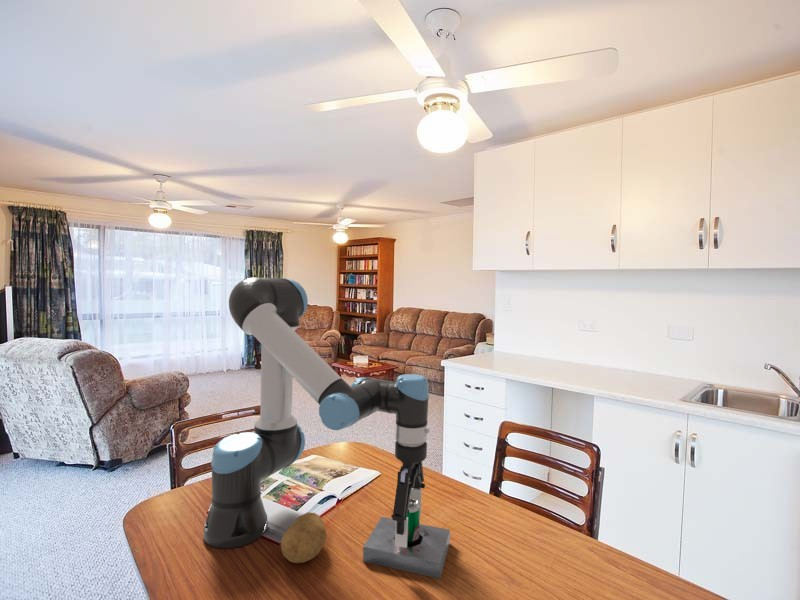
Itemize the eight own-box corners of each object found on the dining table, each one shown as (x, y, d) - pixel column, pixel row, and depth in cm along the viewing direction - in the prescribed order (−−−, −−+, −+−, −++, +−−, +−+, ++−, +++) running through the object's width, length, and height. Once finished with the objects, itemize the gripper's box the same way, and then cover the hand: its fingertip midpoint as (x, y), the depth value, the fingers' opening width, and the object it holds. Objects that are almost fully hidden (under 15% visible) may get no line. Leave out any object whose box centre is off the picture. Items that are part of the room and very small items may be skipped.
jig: (362, 561, 95) (363, 546, 95) (381, 529, 108) (381, 516, 108) (440, 578, 90) (440, 563, 90) (449, 543, 103) (450, 529, 103)
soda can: (417, 560, 96) (418, 509, 96) (395, 557, 97) (397, 507, 97) (420, 547, 101) (421, 498, 101) (400, 544, 102) (401, 496, 102)
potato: (331, 537, 104) (332, 506, 104) (316, 577, 90) (317, 541, 90) (293, 535, 105) (293, 504, 104) (272, 574, 91) (273, 538, 90)
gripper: (413, 464, 85) (410, 565, 86) (436, 426, 109) (434, 505, 110) (379, 459, 87) (376, 558, 88) (409, 422, 111) (406, 500, 112)
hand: (408, 529), depth 99 cm, fingers open, 13 cm apart
